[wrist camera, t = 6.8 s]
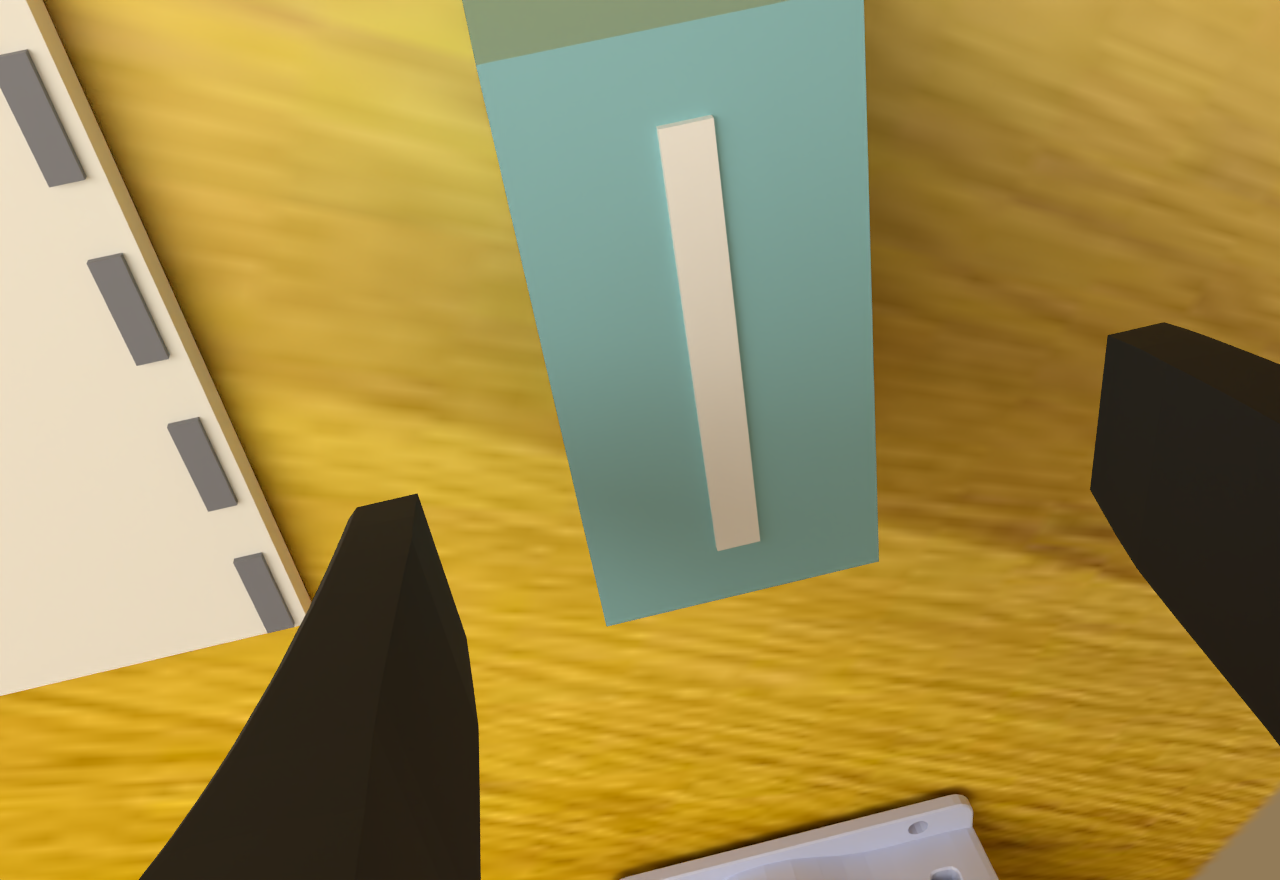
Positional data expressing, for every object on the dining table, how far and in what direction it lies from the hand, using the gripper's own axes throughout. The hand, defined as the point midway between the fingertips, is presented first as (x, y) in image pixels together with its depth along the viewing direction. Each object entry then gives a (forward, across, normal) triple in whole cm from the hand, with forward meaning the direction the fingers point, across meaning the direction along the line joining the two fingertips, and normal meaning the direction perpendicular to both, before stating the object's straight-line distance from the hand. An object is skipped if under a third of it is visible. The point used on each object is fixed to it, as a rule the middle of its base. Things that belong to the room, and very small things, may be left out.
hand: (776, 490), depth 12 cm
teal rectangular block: (+8, 0, 0) cm, 8 cm away
